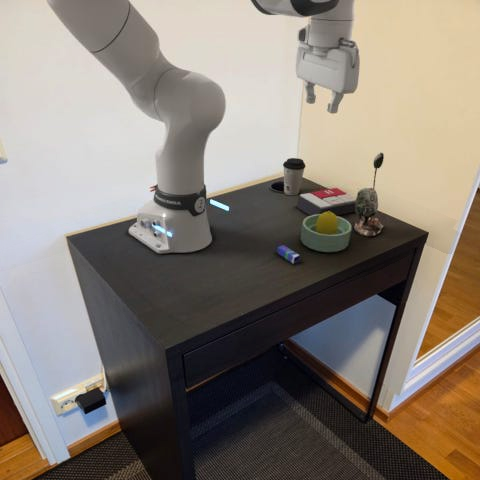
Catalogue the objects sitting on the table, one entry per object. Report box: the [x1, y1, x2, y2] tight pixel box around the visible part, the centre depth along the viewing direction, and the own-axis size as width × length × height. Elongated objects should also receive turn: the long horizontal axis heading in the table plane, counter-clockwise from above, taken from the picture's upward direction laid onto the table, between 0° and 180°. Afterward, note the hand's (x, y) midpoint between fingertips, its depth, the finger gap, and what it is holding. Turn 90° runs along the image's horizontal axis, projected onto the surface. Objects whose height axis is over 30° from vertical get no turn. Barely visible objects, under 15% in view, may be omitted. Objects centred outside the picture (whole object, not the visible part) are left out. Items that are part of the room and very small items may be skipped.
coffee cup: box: [282, 157, 306, 196], centre depth 138 cm, size 7×7×10 cm
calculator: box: [296, 187, 357, 216], centre depth 130 cm, size 11×4×15 cm
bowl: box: [300, 214, 353, 253], centre depth 114 cm, size 12×12×5 cm
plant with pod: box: [353, 152, 385, 237], centre depth 115 cm, size 8×11×20 cm
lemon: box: [316, 211, 338, 235], centre depth 112 cm, size 6×6×8 cm
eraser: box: [277, 244, 301, 265], centre depth 108 cm, size 2×6×2 cm, turn 37°
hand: (320, 107), depth 100 cm, fingers open, 8 cm apart
